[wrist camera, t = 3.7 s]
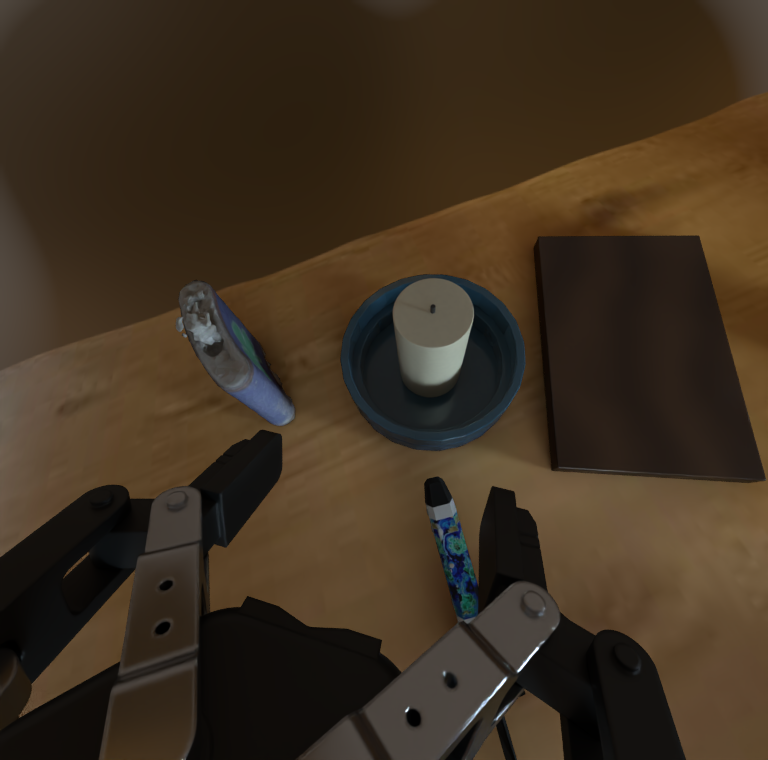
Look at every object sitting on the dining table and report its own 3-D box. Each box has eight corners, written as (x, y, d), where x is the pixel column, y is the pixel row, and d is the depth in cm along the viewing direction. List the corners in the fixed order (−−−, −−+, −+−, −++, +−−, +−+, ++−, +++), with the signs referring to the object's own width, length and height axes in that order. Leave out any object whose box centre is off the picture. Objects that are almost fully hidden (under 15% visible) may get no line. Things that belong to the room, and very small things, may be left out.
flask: (302, 416, 31) (243, 364, 21) (270, 436, 30) (195, 392, 20) (256, 333, 34) (186, 253, 24) (227, 350, 33) (144, 276, 23)
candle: (459, 343, 31) (474, 271, 22) (459, 398, 30) (475, 344, 21) (402, 342, 32) (394, 271, 23) (398, 396, 30) (388, 342, 21)
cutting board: (687, 247, 33) (699, 235, 31) (748, 483, 26) (767, 480, 24) (533, 247, 34) (538, 236, 33) (551, 470, 27) (558, 468, 26)
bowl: (508, 303, 32) (520, 274, 29) (516, 456, 28) (530, 446, 24) (358, 300, 34) (350, 273, 30) (341, 446, 29) (330, 434, 26)
